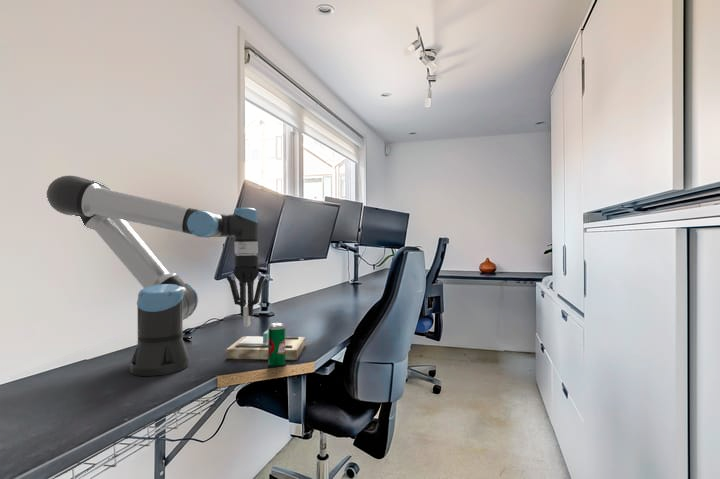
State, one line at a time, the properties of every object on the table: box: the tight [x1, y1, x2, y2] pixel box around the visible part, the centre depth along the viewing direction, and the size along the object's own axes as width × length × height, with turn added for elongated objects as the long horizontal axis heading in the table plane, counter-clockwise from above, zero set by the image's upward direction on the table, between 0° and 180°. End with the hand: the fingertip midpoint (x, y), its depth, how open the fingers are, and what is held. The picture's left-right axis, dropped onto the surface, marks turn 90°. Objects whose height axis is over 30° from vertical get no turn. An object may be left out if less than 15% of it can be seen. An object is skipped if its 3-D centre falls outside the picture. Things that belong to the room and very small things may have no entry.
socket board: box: [226, 335, 306, 361], centre depth 130 cm, size 22×16×4 cm
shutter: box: [238, 329, 268, 345], centre depth 130 cm, size 9×9×4 cm
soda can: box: [267, 322, 287, 368], centre depth 117 cm, size 5×5×12 cm
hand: (247, 325), depth 130 cm, fingers closed
